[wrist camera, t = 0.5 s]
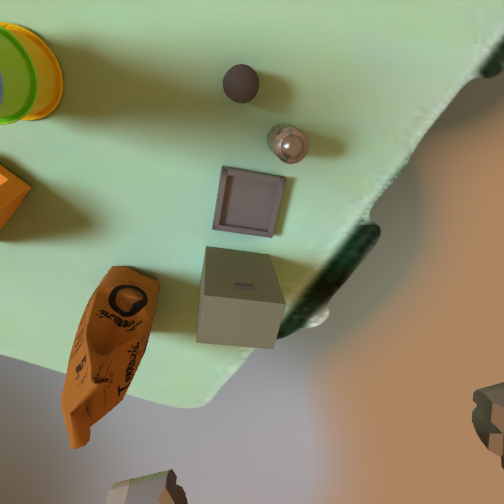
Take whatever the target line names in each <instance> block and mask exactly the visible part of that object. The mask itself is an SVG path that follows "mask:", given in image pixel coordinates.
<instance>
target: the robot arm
mask: <svg viewBox="0 0 504 504" xmlns="http://www.w3.org/2000/svg"><path fill="white" fill-rule="evenodd" d="M473 401H474V402H475V403H476V404H477V407H476V408H475V409H474V410H473V412H472V422H473V425H474V428H475V431H476V433H477V434H478V436H479V438H480V440H481V441H482V442H483V444H484V445H485V446H486V448H487V449H488V450H489V451H491V452H493V453H495V454H497V455H498V456H500V457H501V464H502V468H503V469H504V382H503V383H499V384H496V385H492V386H488V387H485V388H481V389H478V390H476V391H475V392H474V393H473ZM176 479H177V476H176V475H175V473H174V471H173V469H171V470H167V471H163V472H158V473H154V474H150V475H146V476H141V477H137V478H132V479H129V480H125V481H121V482H117V483H114V484H113V486H112V488H111V490H110V491H109V495H108V499H107V502H106V504H188V503H187V498H186V494H185V492H184V490H183V488H182V487H181V486H179V485H177V484H176Z"/></svg>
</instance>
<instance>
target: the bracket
mask: <svg viewBox="0 0 504 504" xmlns="http://www.w3.org/2000/svg"><path fill="white" fill-rule="evenodd" d="M31 188H32V187H31V186H29V185H28V184H26V183H25V182H24V181H22V180H21V179H19V178H18V177H17V176H15V175H14V174H12V173H11V172H10V171H8V170H7V169H5V168H4V167H3V166H1V165H0V229H1V228H3V226H4V225H5V224H6V222H7V221H8V220H9V219H10V217H11V216H12V215H13V213H14V212H15V211H16V209H17V208H18V207H19V205H20V204H21V203H22V202H23V200H24V199H23V198H24V197H25V196H26V194H27V193H28V192H29V190H30V189H31Z"/></svg>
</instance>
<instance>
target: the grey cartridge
mask: <svg viewBox="0 0 504 504" xmlns="http://www.w3.org/2000/svg"><path fill="white" fill-rule="evenodd" d="M267 142H268V145H269V148H270V149H271V150H272V151H273V152H274V153H275V154H276V155H277V156H278V157H279V158H280V159H281V160H282V161H283V162H285V163H288V164H294V163H298V162H300V161H301V160H302V159H303V158H304V157H305V156H306V154H307V152H308V148H309V142H308V139H307V137H306V135H305V134H304V133H303V132H301V131H300V130H298V129H295V128H293V127H291V126H289V125H287V124H278V125H276V126H274V127H273V128H272V129H271V130H270V132H269V134H268V138H267Z"/></svg>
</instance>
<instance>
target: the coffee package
mask: <svg viewBox="0 0 504 504" xmlns="http://www.w3.org/2000/svg"><path fill="white" fill-rule="evenodd" d="M159 288H160V283H159V282H158V280H157V279H156V278H154V277H148V276H145V275H143V274H141V273H138V272H136V271H134V270H132V269H131V268H130V267H122V266H113V267H112V268H111V269H110V270H109V271H108V273H107V274H106V275H105V277H104V278H103V280H102V281H101V283H100V284H99V286H98V287H97V288H96V290H95V291H94V293H93V295H92V296H91V298H90V300H89V302H88V304H87V306H86V308H85V311H84V313H83V316H82V318H81V321H80V324H79V327H78V330H77V333H76V336H75V340H74V343H73V347H72V350H71V354H70V359H69V363H68V369H67V374H66V380H65V385H64V389H63V393H62V397H61V403H62V412H63V415H64V418H65V423H66V428H67V432H68V435H69V439H70V447H71V448H72V449H77V448H79V447H82V446H85V445H86V444H87V443H88V441H89V439H90V427H91V426H92V425H93V424H94V423H96V422H97V421H98V420H100V419H101V418H102V417H103V416H105V415H106V414H107V413H108V412H109V411H111V410H112V409H113V408H114V407H115V406H116V405H117V404H119V403H120V401H122V400H123V397H124V395H125V393H126V391H127V389H128V387H129V385H130V383H131V381H132V379H133V377H134V375H135V373H136V371H137V368H138V366H139V364H140V362H141V359H142V357H143V355H144V353H145V350H146V346H147V343H148V339H149V335H150V331H151V327H152V323H153V319H154V314H155V305H156V300H157V296H158V292H159Z"/></svg>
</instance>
